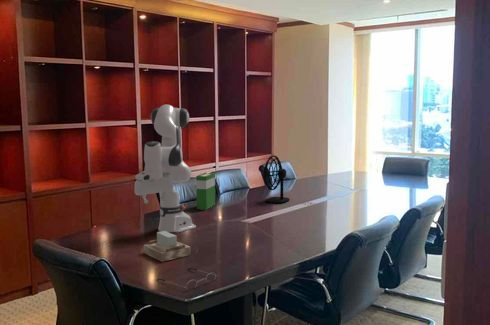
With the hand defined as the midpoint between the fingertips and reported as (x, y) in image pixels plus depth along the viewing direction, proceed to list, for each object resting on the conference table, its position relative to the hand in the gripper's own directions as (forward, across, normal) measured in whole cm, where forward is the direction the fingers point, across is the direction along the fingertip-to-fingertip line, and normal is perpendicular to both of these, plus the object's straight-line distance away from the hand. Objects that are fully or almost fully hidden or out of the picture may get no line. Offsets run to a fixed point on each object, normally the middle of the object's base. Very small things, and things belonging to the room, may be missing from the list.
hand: (154, 201), depth 237 cm
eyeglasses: (+25, +12, +45) cm, 53 cm away
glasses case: (+21, -1, +9) cm, 23 cm away
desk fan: (+29, -133, -47) cm, 144 cm away
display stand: (+25, -1, +9) cm, 27 cm away
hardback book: (+28, -80, -65) cm, 106 cm away
